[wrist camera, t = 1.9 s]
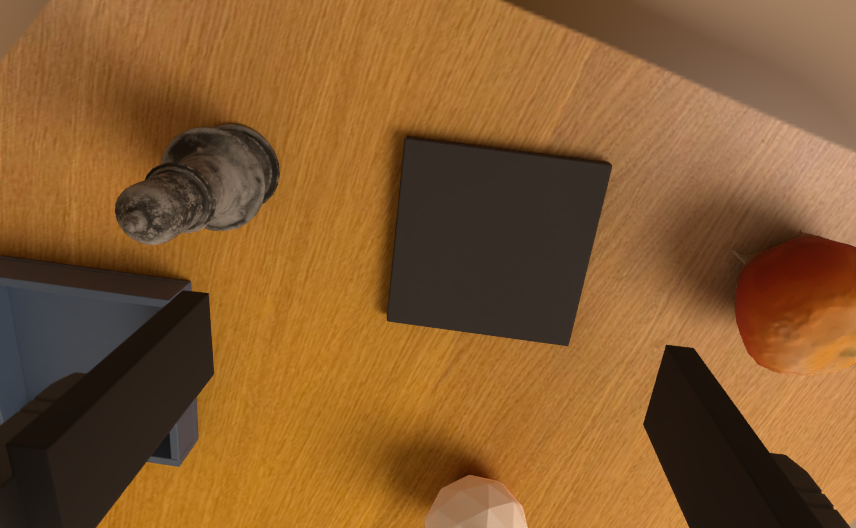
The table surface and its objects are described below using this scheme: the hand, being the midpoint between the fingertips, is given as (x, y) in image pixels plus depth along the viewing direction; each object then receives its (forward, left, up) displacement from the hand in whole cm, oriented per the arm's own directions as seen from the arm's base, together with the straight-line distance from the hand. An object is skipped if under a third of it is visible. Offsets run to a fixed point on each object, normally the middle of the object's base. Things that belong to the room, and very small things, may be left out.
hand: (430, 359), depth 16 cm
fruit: (+3, +21, -19) cm, 29 cm away
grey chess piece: (0, -13, -19) cm, 23 cm away
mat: (+3, +3, -19) cm, 20 cm away
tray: (+15, -23, -19) cm, 34 cm away
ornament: (+23, +5, -19) cm, 30 cm away
